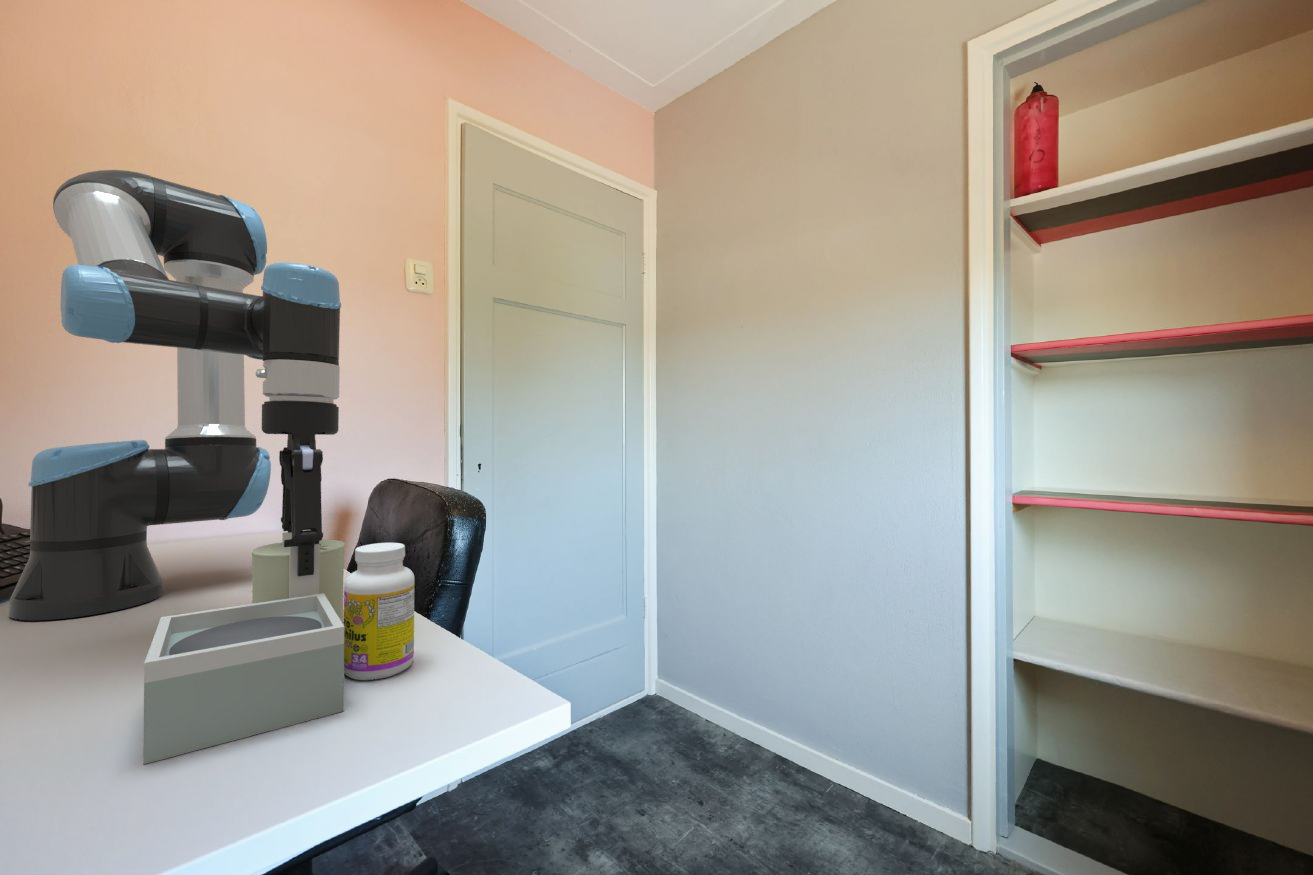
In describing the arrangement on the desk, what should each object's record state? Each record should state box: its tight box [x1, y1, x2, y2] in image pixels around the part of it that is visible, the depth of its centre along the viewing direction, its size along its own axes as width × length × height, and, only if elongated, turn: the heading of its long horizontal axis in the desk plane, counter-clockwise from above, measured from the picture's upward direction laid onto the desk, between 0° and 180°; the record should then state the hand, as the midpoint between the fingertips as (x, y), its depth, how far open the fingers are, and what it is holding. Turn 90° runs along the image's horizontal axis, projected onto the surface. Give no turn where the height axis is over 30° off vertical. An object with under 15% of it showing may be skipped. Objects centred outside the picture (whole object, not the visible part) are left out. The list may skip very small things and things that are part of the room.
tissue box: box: [142, 593, 345, 765], centre depth 49 cm, size 13×13×8 cm
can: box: [251, 539, 346, 625], centre depth 64 cm, size 9×9×12 cm
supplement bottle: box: [343, 542, 416, 681], centre depth 57 cm, size 7×7×13 cm
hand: (299, 593), depth 64 cm, fingers closed on can, 9 cm apart
